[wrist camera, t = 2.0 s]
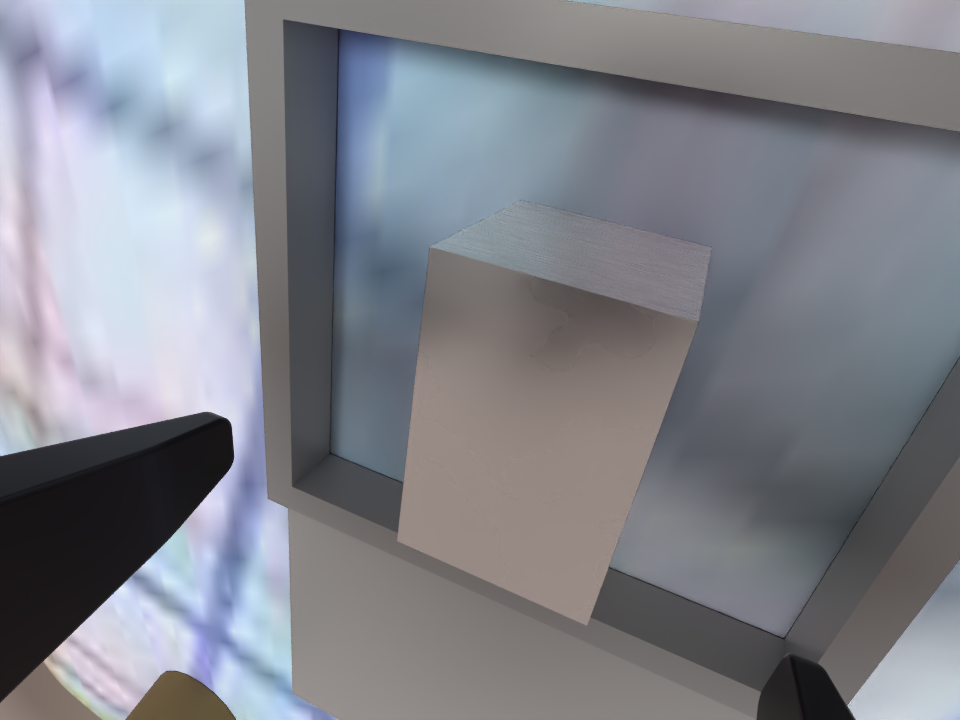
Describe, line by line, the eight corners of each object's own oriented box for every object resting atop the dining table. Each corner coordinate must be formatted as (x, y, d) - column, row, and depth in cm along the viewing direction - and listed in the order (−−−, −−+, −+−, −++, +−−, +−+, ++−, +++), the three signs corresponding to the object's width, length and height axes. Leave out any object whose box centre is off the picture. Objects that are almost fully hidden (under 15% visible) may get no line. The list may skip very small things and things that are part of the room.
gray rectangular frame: (1206, 97, 9) (1313, 100, 7) (673, 873, 22) (667, 937, 20) (303, -27, 14) (242, -43, 12) (306, 674, 27) (277, 713, 25)
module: (712, 245, 13) (699, 322, 8) (626, 485, 16) (586, 625, 12) (522, 199, 14) (430, 246, 10) (480, 431, 17) (396, 540, 13)
